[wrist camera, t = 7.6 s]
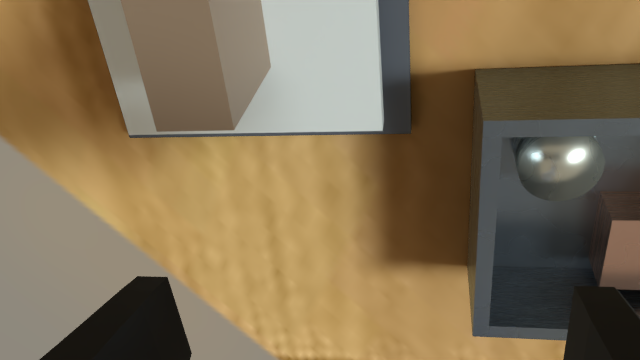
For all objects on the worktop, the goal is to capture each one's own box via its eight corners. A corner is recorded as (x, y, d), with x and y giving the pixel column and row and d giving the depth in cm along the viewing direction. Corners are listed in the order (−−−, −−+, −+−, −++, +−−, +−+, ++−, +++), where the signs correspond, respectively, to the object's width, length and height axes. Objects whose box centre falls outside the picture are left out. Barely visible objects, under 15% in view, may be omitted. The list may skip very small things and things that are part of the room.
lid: (385, 112, 19) (371, 205, 15) (144, 117, 21) (68, 203, 17) (370, -192, 15) (345, -185, 11) (66, -157, 16) (-67, -138, 12)
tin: (698, 272, 21) (739, 348, 18) (467, 267, 23) (472, 335, 20) (763, 59, 17) (831, 114, 14) (475, 69, 19) (483, 120, 16)
